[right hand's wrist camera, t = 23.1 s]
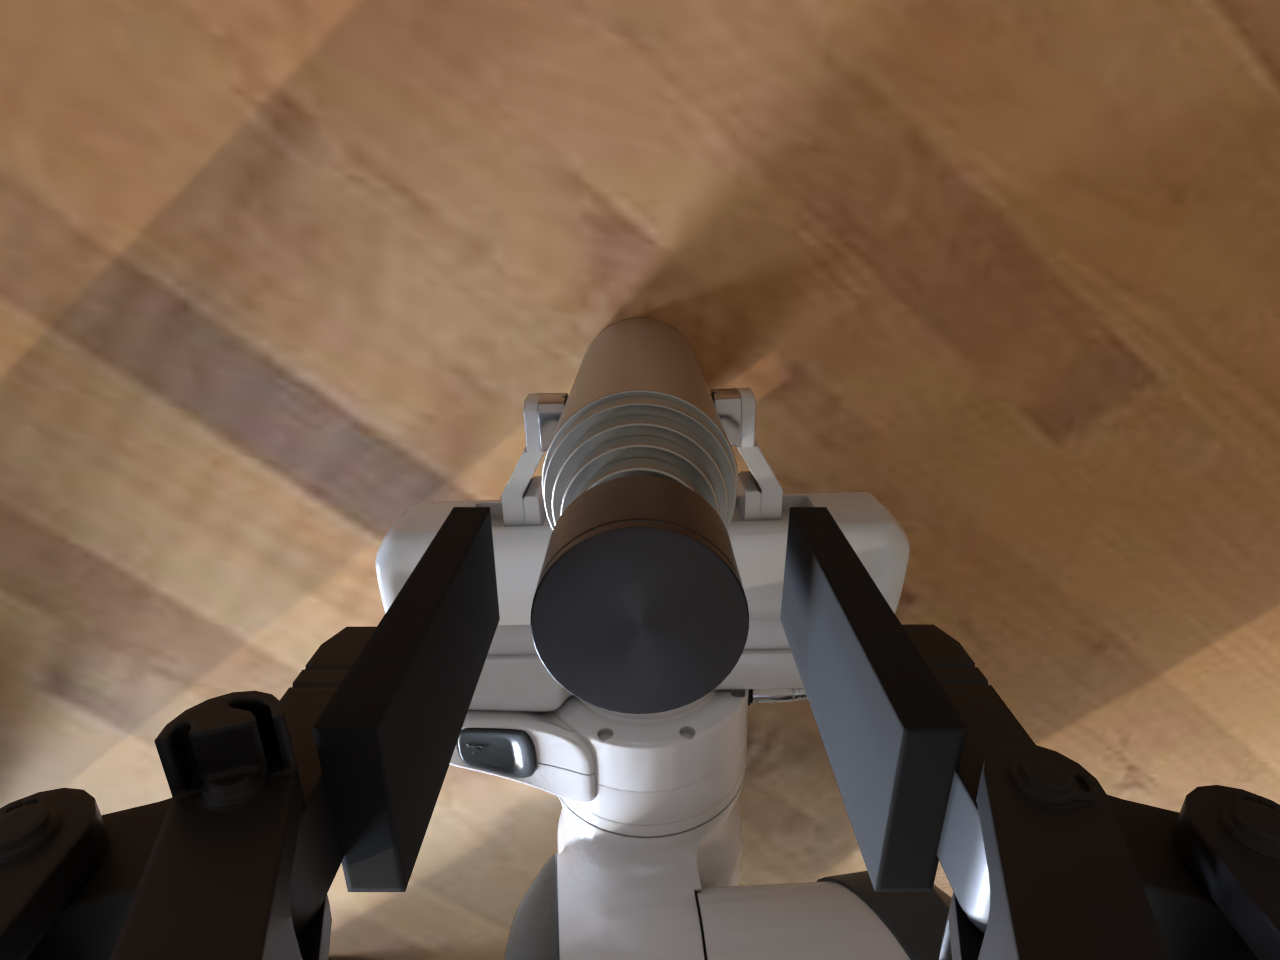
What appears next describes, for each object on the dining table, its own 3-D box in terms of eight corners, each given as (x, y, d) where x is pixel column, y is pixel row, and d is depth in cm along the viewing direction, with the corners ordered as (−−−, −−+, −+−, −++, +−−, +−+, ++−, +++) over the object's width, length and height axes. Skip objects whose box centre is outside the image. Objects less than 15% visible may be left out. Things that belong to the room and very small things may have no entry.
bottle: (567, 415, 32) (471, 683, 14) (598, 302, 30) (536, 436, 12) (677, 448, 32) (726, 745, 14) (715, 338, 31) (826, 519, 12)
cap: (517, 511, 14) (493, 571, 12) (696, 446, 14) (708, 495, 11) (590, 659, 16) (581, 739, 13) (755, 605, 15) (776, 678, 13)
